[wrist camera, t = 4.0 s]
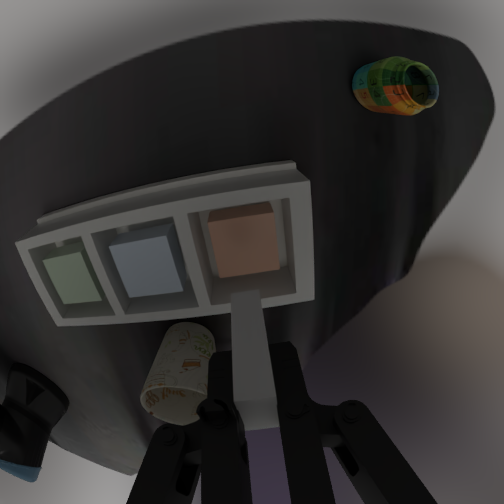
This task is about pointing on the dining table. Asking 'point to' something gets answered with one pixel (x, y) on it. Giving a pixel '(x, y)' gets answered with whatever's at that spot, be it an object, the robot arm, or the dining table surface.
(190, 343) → the mug
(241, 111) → the dining table surface
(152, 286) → the key
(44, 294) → the three-slot tray
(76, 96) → the dining table surface
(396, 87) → the jar
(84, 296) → the key
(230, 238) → the key
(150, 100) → the dining table surface
